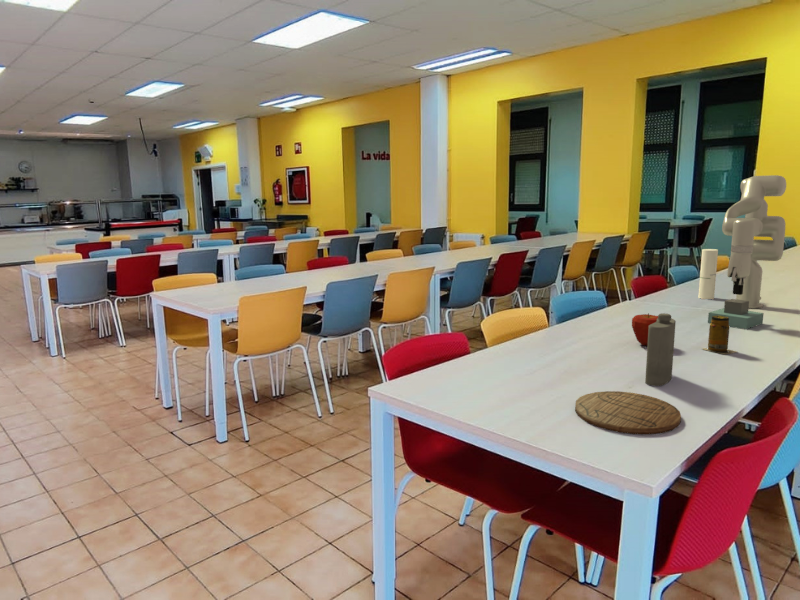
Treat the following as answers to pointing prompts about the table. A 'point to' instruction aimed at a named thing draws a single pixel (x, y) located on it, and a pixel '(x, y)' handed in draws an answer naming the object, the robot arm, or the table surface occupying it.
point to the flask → (660, 350)
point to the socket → (739, 318)
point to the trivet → (628, 412)
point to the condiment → (719, 335)
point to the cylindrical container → (708, 273)
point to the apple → (642, 326)
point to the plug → (736, 306)
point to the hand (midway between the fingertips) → (737, 294)
